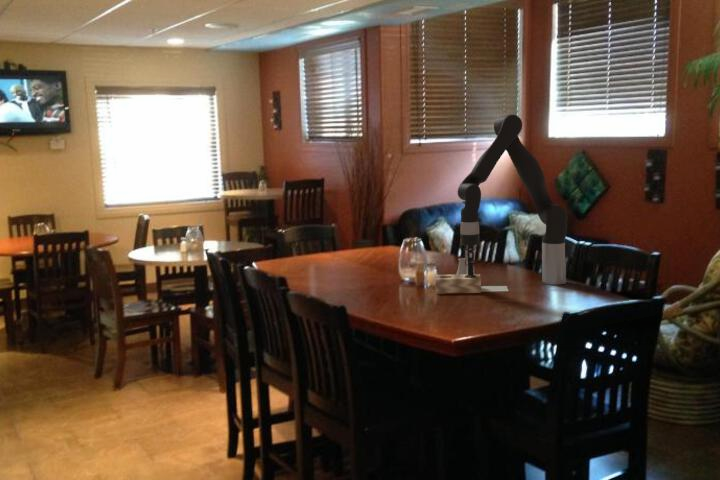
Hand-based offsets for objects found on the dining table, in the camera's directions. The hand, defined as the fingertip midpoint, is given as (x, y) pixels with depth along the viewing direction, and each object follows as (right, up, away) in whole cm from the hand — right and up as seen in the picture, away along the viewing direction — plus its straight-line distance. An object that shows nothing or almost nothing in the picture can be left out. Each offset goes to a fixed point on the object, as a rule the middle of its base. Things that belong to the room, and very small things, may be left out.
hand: (470, 274), depth 292 cm
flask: (0, -4, +21) cm, 21 cm away
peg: (0, -3, 0) cm, 3 cm away
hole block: (-5, -7, +2) cm, 9 cm away
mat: (+9, -6, +2) cm, 12 cm away
